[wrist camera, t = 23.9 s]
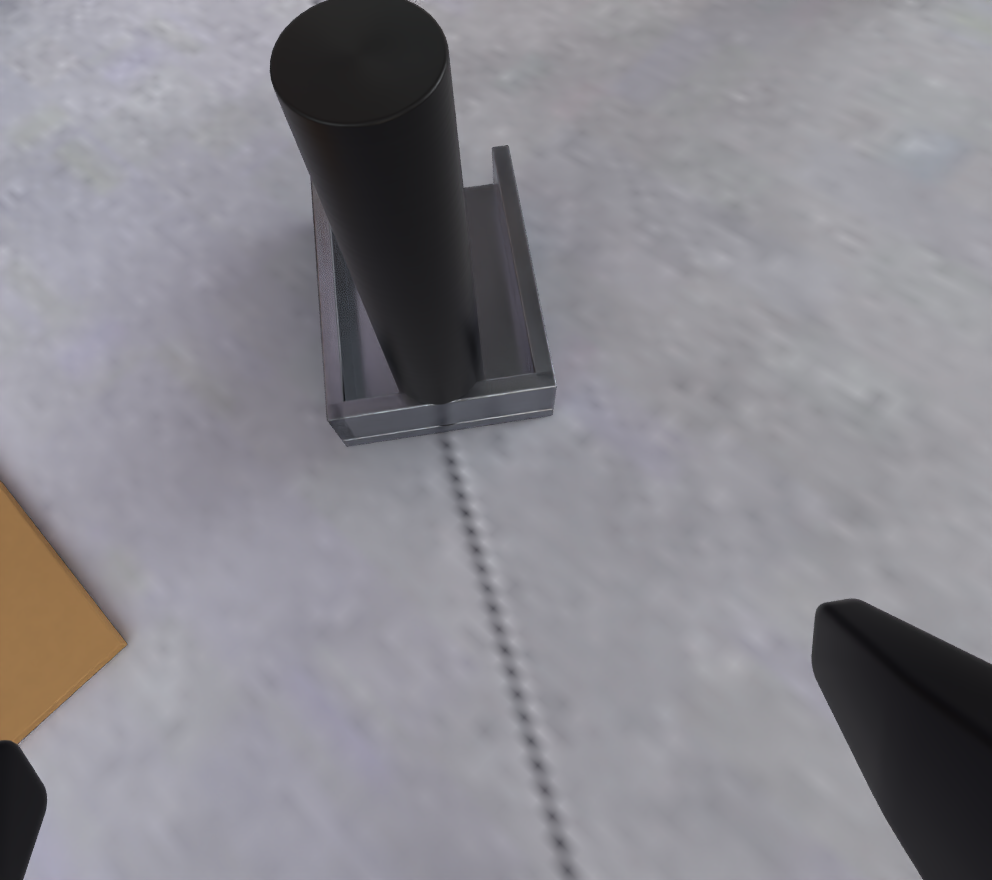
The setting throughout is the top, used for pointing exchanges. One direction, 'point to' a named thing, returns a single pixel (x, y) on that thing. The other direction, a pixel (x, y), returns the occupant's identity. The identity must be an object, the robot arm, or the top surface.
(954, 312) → the top surface
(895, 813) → the robot arm
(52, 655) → the mat
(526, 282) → the black cylinder on tray
